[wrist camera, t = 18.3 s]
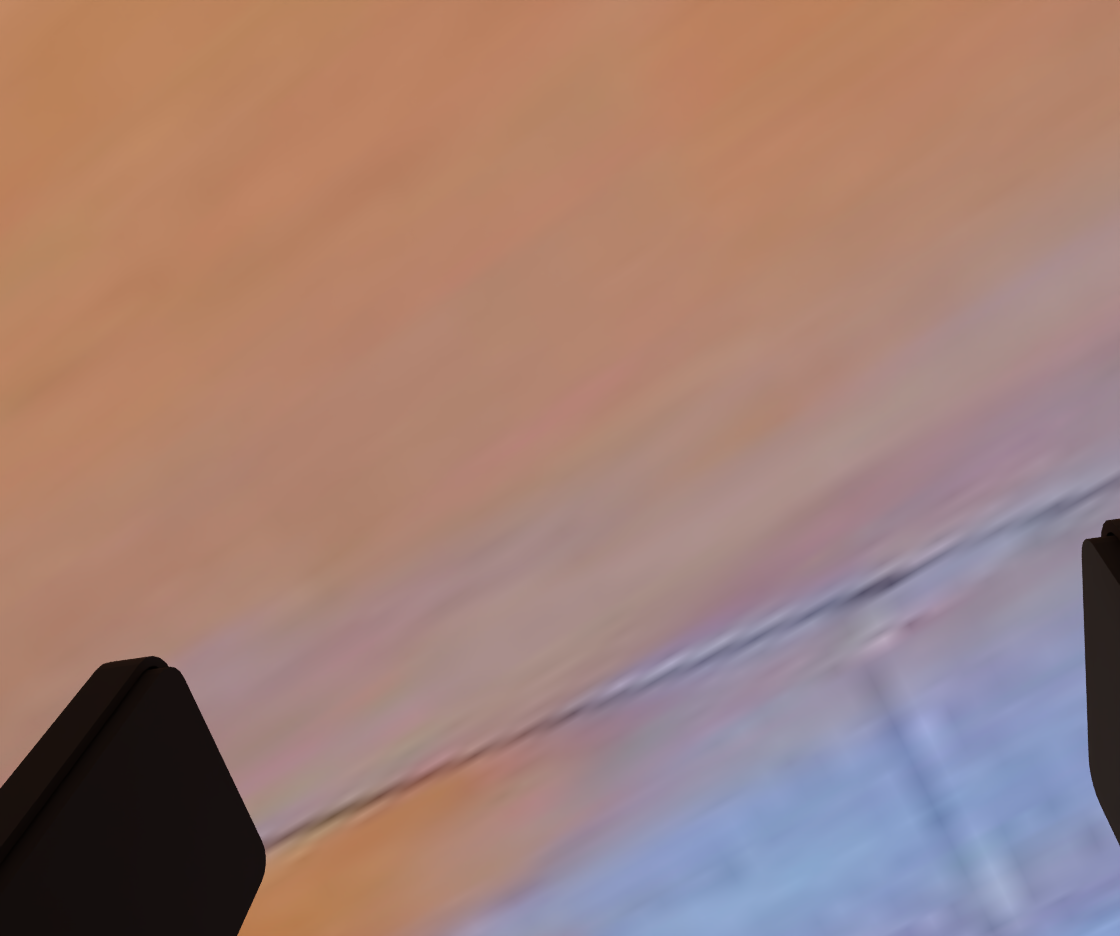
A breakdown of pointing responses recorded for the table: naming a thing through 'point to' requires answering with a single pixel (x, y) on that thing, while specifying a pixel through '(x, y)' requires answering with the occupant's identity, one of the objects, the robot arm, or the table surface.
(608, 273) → the table surface
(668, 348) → the table surface
